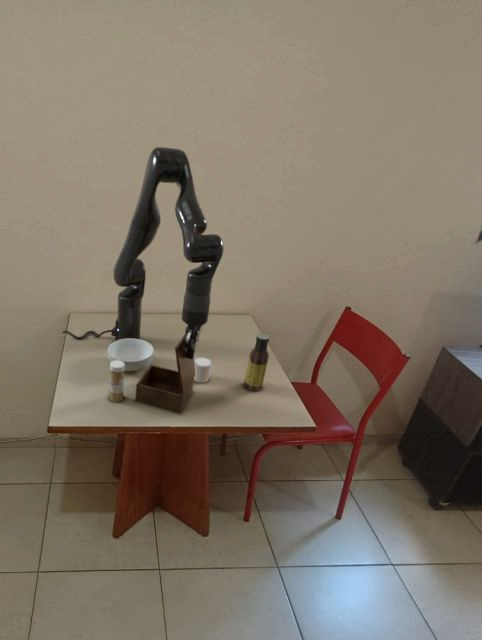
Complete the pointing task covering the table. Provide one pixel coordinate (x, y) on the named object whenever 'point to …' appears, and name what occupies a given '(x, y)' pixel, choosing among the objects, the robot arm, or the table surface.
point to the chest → (162, 389)
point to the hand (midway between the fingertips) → (189, 357)
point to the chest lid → (184, 366)
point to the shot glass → (202, 369)
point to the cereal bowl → (131, 353)
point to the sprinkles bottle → (117, 380)
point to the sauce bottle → (257, 363)
